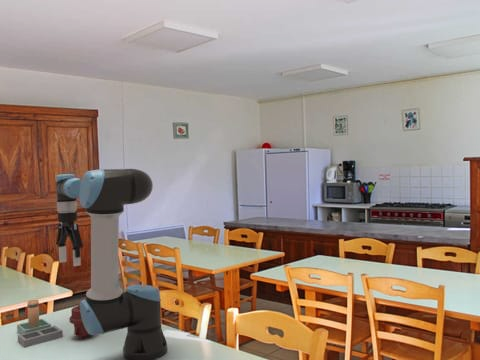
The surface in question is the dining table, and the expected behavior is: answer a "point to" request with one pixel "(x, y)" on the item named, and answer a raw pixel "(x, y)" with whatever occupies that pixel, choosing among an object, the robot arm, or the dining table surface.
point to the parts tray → (25, 328)
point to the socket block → (40, 336)
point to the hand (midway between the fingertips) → (70, 263)
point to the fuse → (33, 314)
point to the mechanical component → (78, 323)
